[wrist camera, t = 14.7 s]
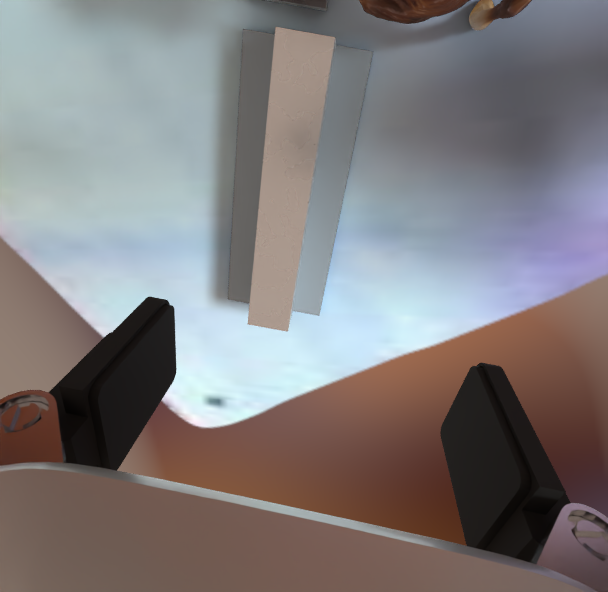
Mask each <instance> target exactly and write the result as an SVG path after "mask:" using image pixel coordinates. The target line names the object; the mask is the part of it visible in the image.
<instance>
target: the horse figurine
mask: <svg viewBox="0 0 608 592" xmlns="http://www.w3.org/2000/svg"><path fill="white" fill-rule="evenodd" d="M359 1H360V3H361V5H362V6H363V9H364V11H365V12H367V13H368V14H371V15H374V16H375V17H377V18H382V19H385V20H388V21H394V22H399V23H405V24H411V23H418V22H422V21H425V20H427V19H429V18H432V17H435V16H441V15H444V14H447V13H450V12H452V11H455V10H457V9H458V8H460V7H462V6H463V5H464V4H465V3H466V2H468V1H470V0H359ZM531 1H532V0H502V1H501V3H500V4H498V5H496V6H495V7H494V4H493V2H492V0H480V1H479V2H478V3H477V4H476V5H475V7H474V8H473V10H472V11H471V13H470V16H469V22H470V25H471V27H472V28H473V29H474V30H477V31H478V30H483V29H485V28H486V27H487V26H488V25H489V24H490V23H491V22H492V21H493V20H495V19H498V18H502V19H503V18H510V17H513V16H515V15H517V14H518V13H519V12H521V11H522V10H523V9H524V8H525V7H526V6H527V5H528V4H529V3H530V2H531Z"/></svg>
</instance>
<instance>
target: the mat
mask: <svg viewBox="0 0 608 592" xmlns="http://www.w3.org/2000/svg"><path fill="white" fill-rule="evenodd" d="M274 38H275V34H270V33H264V32H258V31H252V30H247V29H243V40H242V57H241V75H240V93H239V111H238V128H237V146H236V164H235V181H234V199H233V217H232V235H231V252H230V270H229V288H228V299H229V300H235V301H240V302H246V303H250V295H251V284H252V273H253V262H254V252H255V241H256V230H257V220H258V209H259V198H260V188H261V177H262V166H263V156H264V145H265V134H266V124H267V113H268V102H269V92H270V81H271V70H272V60H273V49H274ZM372 55H373V51H367V50H362V49H356V48H350V47H344V46H339V45H336V48H335V55H334V61H333V67H332V73H331V79H330V85H329V91H328V97H327V104H326V110H325V116H324V122H323V128H322V134H321V140H320V146H319V153H318V159H317V165H316V171H315V177H314V183H313V189H312V195H311V202H310V208H309V214H308V220H307V226H306V232H305V238H304V244H303V251H302V257H301V263H300V269H299V275H298V281H297V287H296V293H295V300H294V306H293V311H296V312H301V313H307V314H313V315H318V316H319V314H320V310H321V305H322V300H323V295H324V290H325V285H326V280H327V275H328V270H329V266H330V261H331V256H332V251H333V246H334V241H335V236H336V231H337V226H338V222H339V217H340V212H341V207H342V202H343V197H344V192H345V187H346V182H347V178H348V173H349V168H350V163H351V158H352V153H353V148H354V143H355V139H356V134H357V129H358V124H359V119H360V114H361V109H362V104H363V99H364V95H365V90H366V85H367V80H368V75H369V70H370V65H371V60H372Z"/></svg>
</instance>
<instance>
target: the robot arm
mask: <svg viewBox="0 0 608 592" xmlns="http://www.w3.org/2000/svg"><path fill="white" fill-rule="evenodd" d="M175 375H176V347H175V318H174V307H173V306H171V305H169V302H168V301H167V300H164V299H159V298H154V297H148V298H146V299H145V300H144V301H143V302H142V303H141V304H140V305H139V306H138V307H137V308H136V309H135V310H134V311H133V312H132V313H131V314H130V315H129V316H128V317H127V318H126V319H125V320H124V321H123V322H122V323H121V324H120V325H119V326H118V327H117V328H116V329H115V330H114V331H113V332H112V333H109V334H108V335H106V336H105V337H104V338H103V339H102V340H101V341H100V342H99V343H98V344H97V345H96V346H95V347H94V348H93V349H92V350H91V351H90V352H89V353H88V354H87V355H86V356H85V357H84V358H83V359H82V360H81V361H80V362H79V363H78V364H77V365H76V366H75V367H74V368H73V369H72V370H71V371H70V372H69V373H68V374H67V375H66V376H65V377H64V378H63V379H62V380H61V381H60V382H59V383H58V384H57V385H56V386H55V387H54V388H53V389H52V390H51V391H50V392H49V393H48V392H45V391H41V390H27V391H21V392H17V393H14V394H12V395H8V396H6V397H4V398H3V399H0V592H608V518H607V517H605V516H604V515H603V514H601V513H599V512H598V511H596V510H594V509H593V508H590V507H588V506H585V505H583V504H576V503H570V501H569V499H568V497H567V495H566V493H565V490H564V488H563V486H562V484H561V482H560V480H559V478H558V476H557V474H556V472H555V470H554V468H553V466H552V465H551V462H550V461H549V459H548V456H547V454H546V453H545V451H544V449H543V447H542V445H541V443H540V441H539V439H538V437H537V435H536V433H535V431H534V430H533V427H532V425H531V423H530V421H529V419H528V417H527V415H526V414H525V412H524V410H523V408H522V406H521V404H520V402H519V400H518V398H517V396H516V394H515V392H514V390H513V388H512V386H511V384H510V382H509V381H508V378H507V376H506V374H505V373H504V371H503V369H502V368H501V367H500V366H496V365H491V364H485V363H479V364H478V365H477V366H473V367H471V368H470V370H469V372H468V374H467V376H466V378H465V380H464V382H463V384H462V386H461V388H460V390H459V392H458V394H457V396H456V398H455V400H454V402H453V404H452V406H451V408H450V410H449V412H448V414H447V416H446V418H445V420H444V422H443V424H442V427H441V439H442V443H443V447H444V452H445V456H446V460H447V465H448V469H449V473H450V477H451V482H452V486H453V490H454V494H455V499H456V503H457V507H458V511H459V515H460V519H461V524H462V528H463V532H464V537H465V541H466V544H467V546H464V545H460V544H456V543H452V542H447V541H443V540H439V539H434V538H430V537H425V536H421V535H416V534H412V533H407V532H402V531H398V530H394V529H389V528H384V527H380V526H375V525H371V524H366V523H362V522H358V521H353V520H349V519H344V518H340V517H335V516H330V515H326V514H321V513H317V512H311V511H307V510H302V509H298V508H293V507H289V506H284V505H280V504H275V503H270V502H266V501H261V500H256V499H251V498H247V497H242V496H238V495H232V494H228V493H224V492H218V491H214V490H209V489H205V488H199V487H195V486H190V485H185V484H181V483H176V482H171V481H167V480H162V479H157V478H152V477H147V476H141V475H136V474H131V473H126V472H121V471H117V469H118V468H119V466H120V465H121V463H122V462H123V460H124V459H125V457H126V455H127V454H128V452H129V451H130V449H131V448H132V446H133V444H134V442H135V441H136V439H137V438H138V436H139V435H140V433H141V432H142V430H143V428H144V427H145V425H146V424H147V422H148V420H149V419H150V417H151V416H152V414H153V413H154V411H155V409H156V408H157V406H158V404H159V403H160V401H161V400H162V398H163V397H164V395H165V393H166V392H167V390H168V389H169V387H170V385H171V384H172V382H173V380H174V378H175Z"/></svg>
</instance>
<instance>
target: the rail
mask: <svg viewBox="0 0 608 592" xmlns="http://www.w3.org/2000/svg"><path fill="white" fill-rule="evenodd" d="M335 48H336V39H335V37H331V36H325V35H319V34H314V33H308V32H302V31H297V30H291V29H285V28H280V27H276V28H275V38H274V49H273V60H272V70H271V81H270V92H269V102H268V113H267V124H266V134H265V145H264V156H263V166H262V177H261V188H260V198H259V209H258V220H257V230H256V241H255V252H254V262H253V273H252V284H251V295H250V305H249V316H248V324H249V325H255V326H260V327H266V328H271V329H277V330H282V331H288V329H289V324H290V320H291V316H292V311H293V306H294V300H295V293H296V287H297V281H298V275H299V269H300V263H301V257H302V251H303V244H304V238H305V232H306V226H307V220H308V214H309V208H310V202H311V195H312V189H313V183H314V177H315V171H316V165H317V159H318V153H319V146H320V140H321V134H322V128H323V122H324V116H325V110H326V104H327V97H328V91H329V85H330V79H331V73H332V67H333V61H334V55H335Z"/></svg>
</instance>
